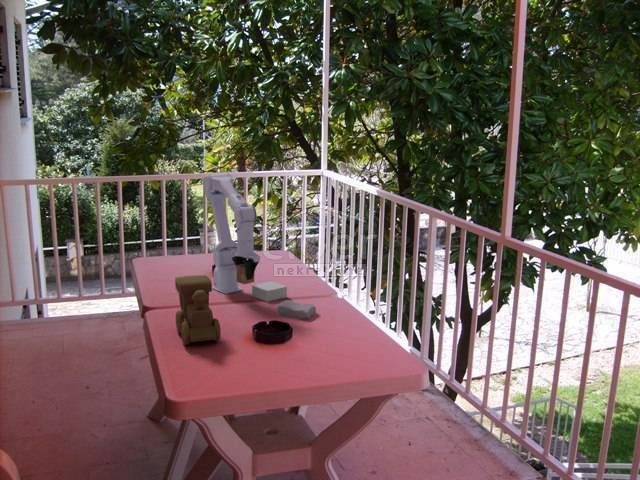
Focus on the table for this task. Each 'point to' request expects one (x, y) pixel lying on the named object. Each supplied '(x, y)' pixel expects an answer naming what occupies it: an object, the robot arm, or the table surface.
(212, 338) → the wooden toy train
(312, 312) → the stone block
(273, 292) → the plinth
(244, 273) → the walnut block
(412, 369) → the table surface
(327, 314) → the table surface
